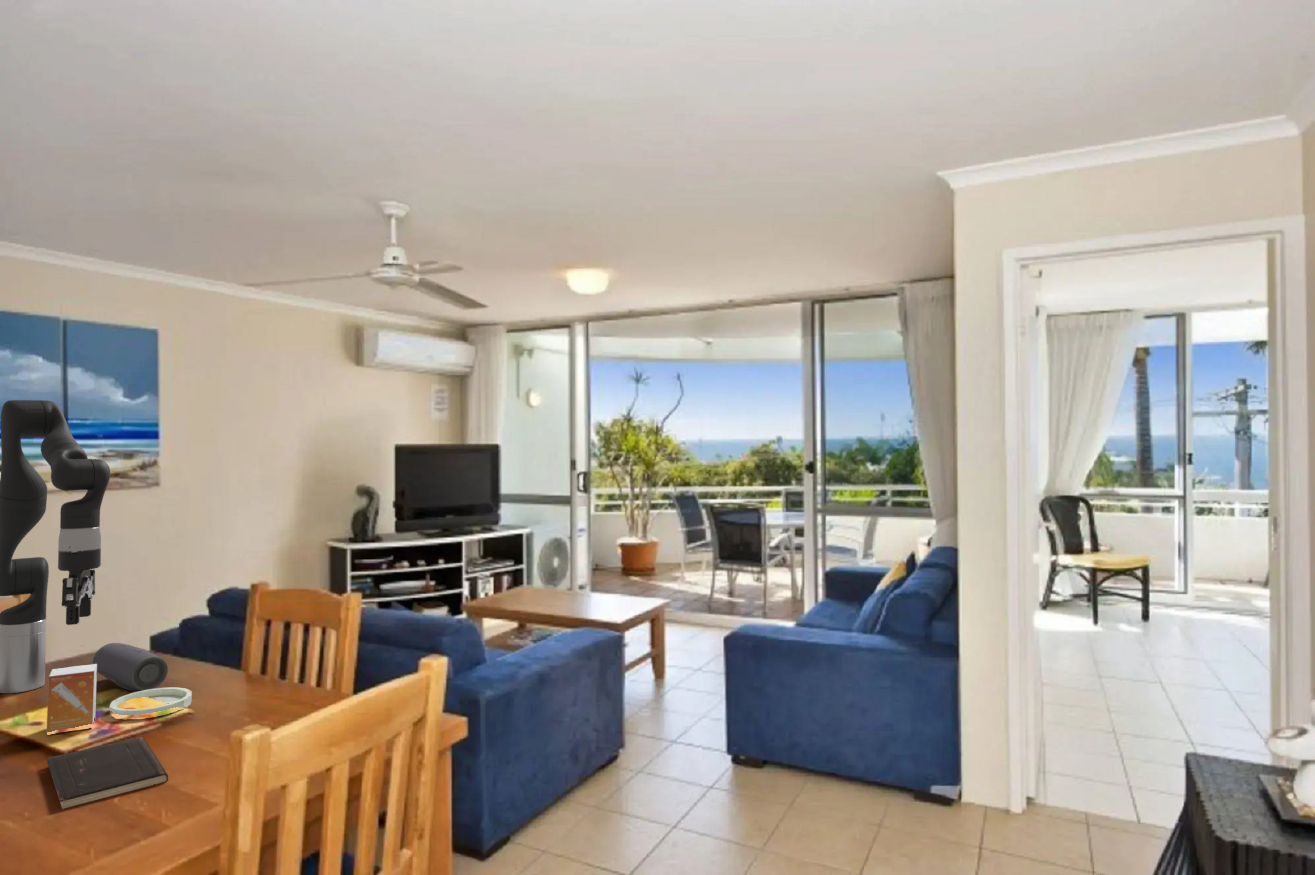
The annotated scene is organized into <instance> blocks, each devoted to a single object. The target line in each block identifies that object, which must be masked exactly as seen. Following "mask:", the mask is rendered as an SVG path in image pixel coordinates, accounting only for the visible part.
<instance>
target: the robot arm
mask: <svg viewBox="0 0 1315 875" xmlns="http://www.w3.org/2000/svg"><path fill="white" fill-rule="evenodd" d="M25 438H29V439H30V438H43V440H42V442H41V444H40V453H41V456H42V457H43V459H44V460H45V461H46V462H47V464H48V465H49V467H50V471H51V472H50V480H51V484H52V486H53V487H54V488H56V489H58V490H61V491H67V492H69V491H86V493H85V494H84V496H83V497H81V498H79V499H76V500H71V501H67V502H64V503H63V504H62V505H61V506H60V512H59V513H60V519H59V520H60V528H59V536H58V545H57V546H58V552H57V554H58V556H57V558H58V560H57V570H59V571H61V572H68V577H64V578H62V590H61V593H62V594H61V595H62V596H61V606H62V607H64V608H65V624H66V625H67V626H71V625H72V626H73V625H78V624H80V618H87V617H88V618H89V616H91V615H92V614H91V613H92V599H93V597H94V596H95V595H96V569H98V568H100V567H101V564H102V562H101V561H102V559H101V558H102V556H101V555H102V554H101V553H102V535H101V534H102V533H101V527H100V524H101V523H100V522H101V507H102V503H103V499H104V496H105V493H106V490H107V487H108V485H109V482H110V479H111V474H112V472H111V469H110V466H109V464H108V463H107V462H106V461H105V460H104V459H99V458H89V459H88V454H87V453H86V452H85V450H84V448H82V446H81V445H80V444H79V443H78V442H77V440H76V439H75V438H74V436H73V435H72V431H71V429H70V427H69V424H68V422H67V420H66V418H65V415H64V412H63V411H62V410H61V408H60V407H59V405H58V404H57V403H55V402H54V401H50V400H45V399H44V400H41V399H33V400H32V399H30V400H29V399H12V400H7V401H5V402H4V403H3V405H2V407H1V411H0V448H1V449H0V450H1V453H0V454H1V463H0V597H10V596H11V597H12V596H22V595H29V597H27V598H26V599H25V600H23V601H21V603H18V604H16V605H13V606H10V607H9V608H6V609H4V610H2V611H0V694H15V693H16V694H17V693H23V692H28V691H32V690H36V689H38V688H41V687H43V686H44V685H45V684H46V683H45V682H46V679H45V678H46V650H47V649H46V645H47V644H46V641H47V640H46V639H47V598H48V595H47V594H48V585H49V576H50V575H49V574H50V570H49V568H50V567H49V562H48V560H47V559H46V558H45V557H41V556H38V557H24V558H21V557H20V558H13V556H14V554H15V552H16V550H17V548H18V546H19V544H21V542H22V540H24V538H25V537H26V536H27V535H28V534H29V533H30V532H31V531H32V530H33V528H34V527H35V526H36V525H37V524H38V523H39V522H40V521H41V519H42V518H43V517H44V515H45V513H46V511H47V501H48V500H47V499H48V485H47V484H46V481H45V480H44V479H43V477H42V476H41V475H40V474H39V473H38V471H37V470H36V468H34V466H33V465H32V464H31V463H30V462H29V460H28V458H27V457H26V455H25V454H24V452H23V451H24V450H23V448H22V447H23V446H22V439H25Z"/></svg>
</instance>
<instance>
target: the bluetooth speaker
mask: <svg viewBox="0 0 1315 875" xmlns="http://www.w3.org/2000/svg"><path fill="white" fill-rule="evenodd" d="M92 664H97V673H98V674H99V675H101V676H103V677H104V678H106V679H107V680H110V681H112V682H113V683H115V685H116V686H118V687H119V688H122V689H124V690H127V691H130V692H137V691H143V690H148V689H156V688H158V687H159V686H160V685H162V683H163V682H164V681H165V680H166V677H167V676H168V672H169V668H168V664H167V663H166V661H165V660H164V659H163V658H161V657H160V656H159V655H157V654H154V653H153V652H150V651H149V650H148V651H147V650H145V649H142V648H139V647H137V646H133V645H130V644H126V643H119V642H112V643H111V642H110V643H106V644H105V645H103V646H101V647H100V648H99V649H98V650H97V651H96V653H95V654H94V656H93V659H92Z"/></svg>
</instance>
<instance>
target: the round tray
mask: <svg viewBox="0 0 1315 875" xmlns="http://www.w3.org/2000/svg"><path fill="white" fill-rule="evenodd" d="M141 697H149V698H155V699H157V700H158V701H161V702H163V703H169V704H166V705H162V706H157V707H151V708H144V709H123V708H118V707H117V705H119V704H120V703H123V702H124V701H128V700H130V699H133V698H141ZM192 697H193V692H192V690H190V689H188V688H184V687H179V686H177V687H175V686H174V687H172V686H171V687H155V688H153V689H148V690H138V691H133V692H131V693H128V694H125V695H122V696H119V697H117V698H116V699H114V700H112V701H111V702H110V704H109V710H110V711H112V712H113V713H114V714H119V715H141V714H146V713H153V712H158V711H163V710H167V709H170V708H174V707H175V708H176V707H186V708H189V706H191V705H192V700H193V698H192Z"/></svg>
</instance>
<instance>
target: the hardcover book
mask: <svg viewBox="0 0 1315 875" xmlns="http://www.w3.org/2000/svg"><path fill="white" fill-rule="evenodd" d="M46 762H47V765H48V769H49V771H50V772H49V773H50V775H51V780H52V782H53V785H54V788H55V791H56V796H57V798H58V802H59V803H60V806H61V809H62V810H64V809H66V808H71V807H75V806H78V805H83V804H86V803H90V802H94V801H97V800H102V799H105V798H108V797H113V796H116V795H117V796H118V795H121V794H124V793H128V792H133V791H135V790H136V791H137V790H139V789H144V788H147V787H151V786H155V785H158V784H159V785H160V784H161V783H162V782H163V783H165V782H166V781H168V782H169V774H168V773H167V771H166V770H165V768H164V767H163V765H162V763H161V761H159V759H158V758H157V756H156V755H155V753H154V751H153V750H152V748H151V747H150V745H149V744H148V742H147V740H146V739H145V738H144V737H143V736H140V737H134V738H130V739H126V740H122V741H117V742H113V743H108V744H103V745H99V746H94V747H91V748H85V749H81V750H77V751H72V752H67V753H63V754H60V755H54V756H51V757H47V758H46ZM154 784H155V785H154Z"/></svg>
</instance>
